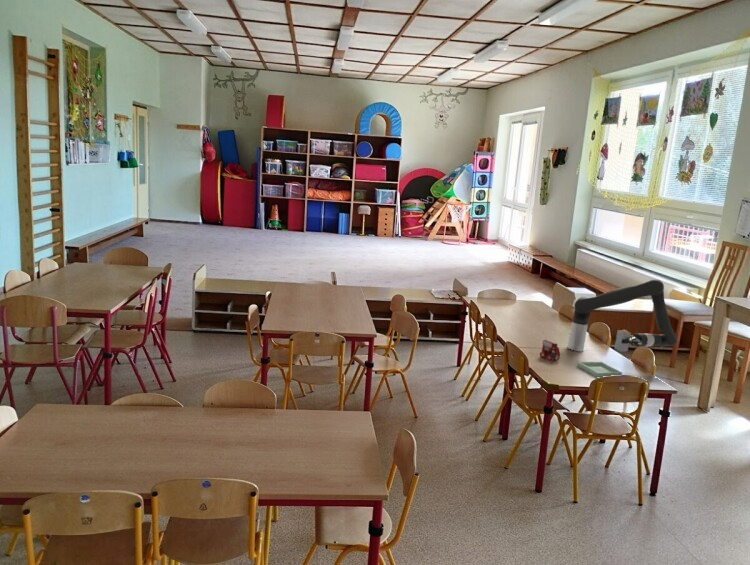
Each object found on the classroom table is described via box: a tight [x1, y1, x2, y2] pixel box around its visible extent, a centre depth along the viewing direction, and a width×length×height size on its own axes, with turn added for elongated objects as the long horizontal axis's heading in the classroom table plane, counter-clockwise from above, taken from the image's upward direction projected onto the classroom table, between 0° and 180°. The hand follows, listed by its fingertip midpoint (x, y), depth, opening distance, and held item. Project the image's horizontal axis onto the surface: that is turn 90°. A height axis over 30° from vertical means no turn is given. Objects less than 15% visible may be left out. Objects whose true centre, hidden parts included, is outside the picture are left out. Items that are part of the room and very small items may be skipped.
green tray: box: [576, 361, 623, 379], centre depth 339 cm, size 18×16×3 cm
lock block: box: [614, 329, 632, 352], centre depth 343 cm, size 5×5×12 cm
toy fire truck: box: [539, 339, 561, 362], centre depth 353 cm, size 7×12×10 cm, turn 35°
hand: (618, 339), depth 343 cm, fingers closed on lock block, 5 cm apart
